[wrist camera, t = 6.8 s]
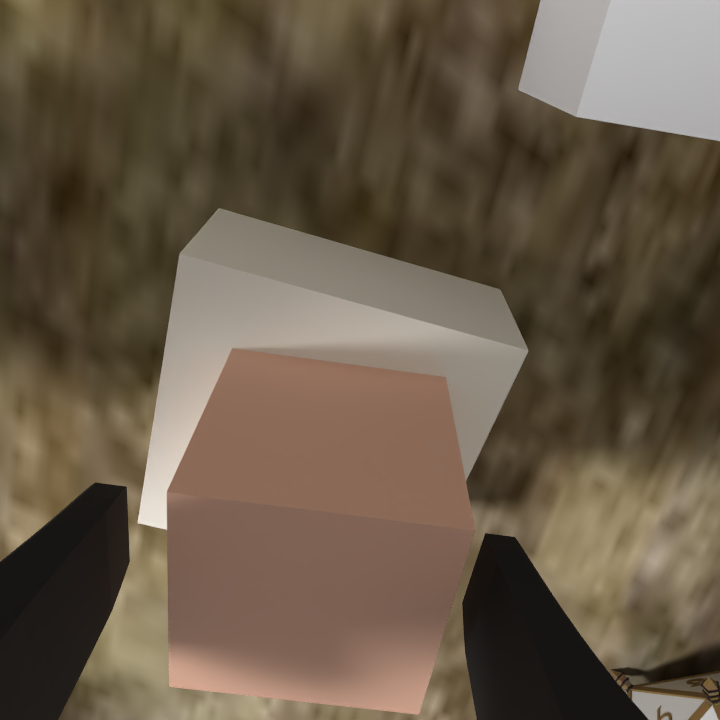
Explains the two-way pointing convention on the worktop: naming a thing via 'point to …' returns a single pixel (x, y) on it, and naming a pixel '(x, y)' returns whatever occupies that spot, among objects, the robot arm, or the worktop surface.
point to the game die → (676, 697)
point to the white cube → (629, 62)
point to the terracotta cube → (316, 534)
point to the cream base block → (321, 329)
